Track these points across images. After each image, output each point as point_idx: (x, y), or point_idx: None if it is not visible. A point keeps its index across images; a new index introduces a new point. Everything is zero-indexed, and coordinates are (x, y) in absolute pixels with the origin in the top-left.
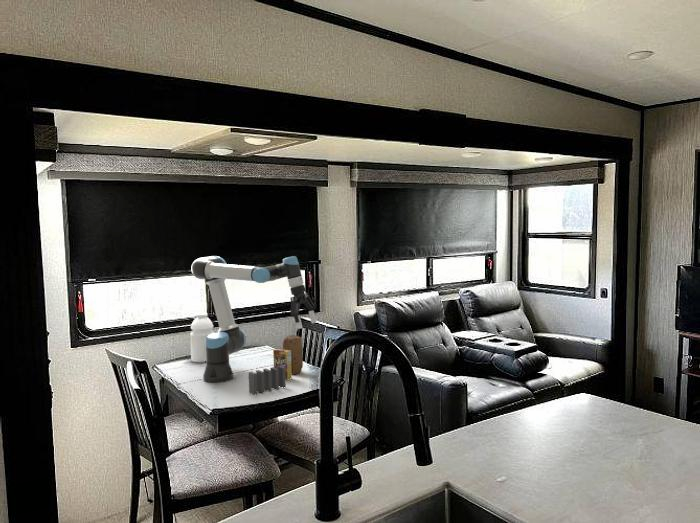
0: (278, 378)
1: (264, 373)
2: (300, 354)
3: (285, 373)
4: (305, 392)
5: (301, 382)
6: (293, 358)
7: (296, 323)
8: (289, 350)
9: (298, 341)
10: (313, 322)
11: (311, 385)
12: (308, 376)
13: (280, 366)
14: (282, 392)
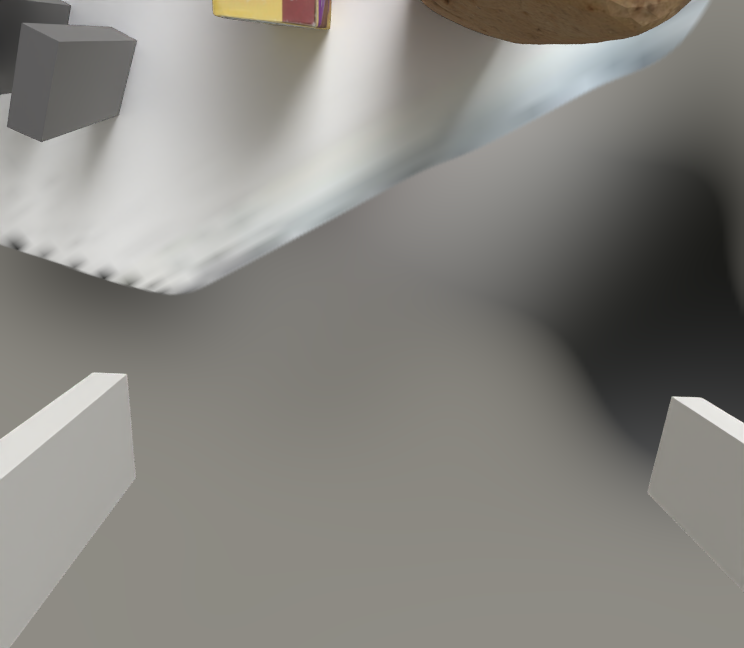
0: (7, 91)
1: None
2: (521, 35)
3: (68, 131)
4: (122, 281)
5: (275, 159)
6: None
7: (5, 447)
8: (285, 16)
9: (567, 14)
10: (668, 450)
11: (252, 250)
12: (421, 134)
13: (39, 64)
14: (22, 152)
